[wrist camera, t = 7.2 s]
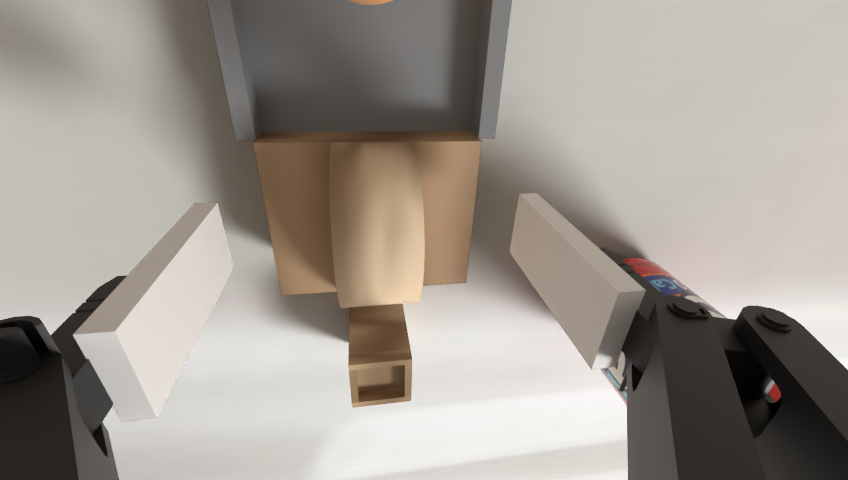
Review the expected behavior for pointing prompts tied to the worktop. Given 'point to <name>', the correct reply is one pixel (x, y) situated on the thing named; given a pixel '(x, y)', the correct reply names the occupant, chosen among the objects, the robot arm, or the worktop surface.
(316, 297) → the worktop surface
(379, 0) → the ball
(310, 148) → the tan rounded block
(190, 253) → the robot arm
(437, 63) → the tray
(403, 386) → the hollow wooden sleeve
